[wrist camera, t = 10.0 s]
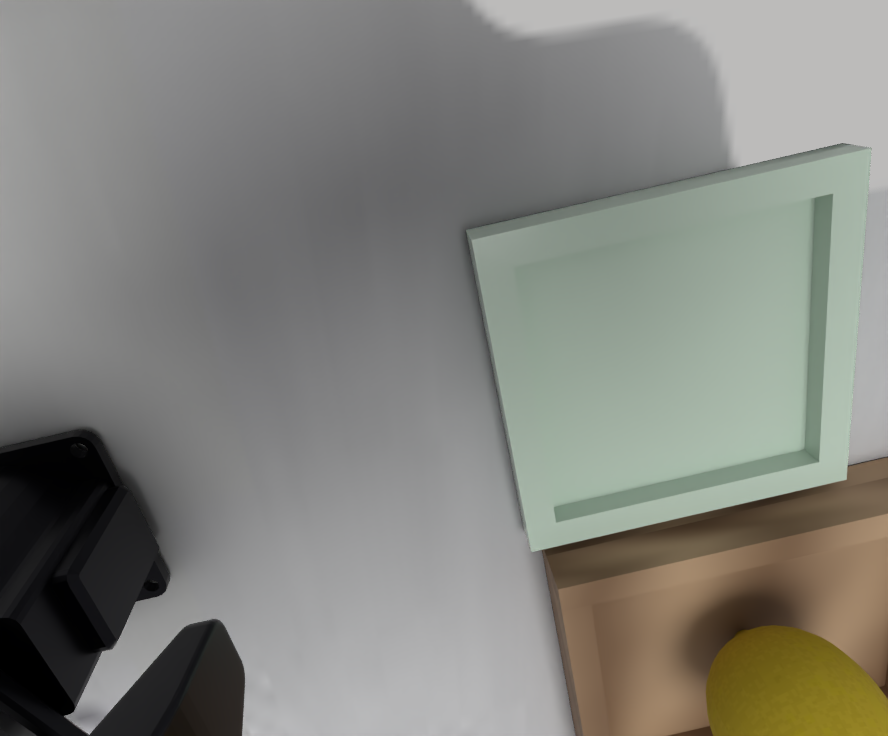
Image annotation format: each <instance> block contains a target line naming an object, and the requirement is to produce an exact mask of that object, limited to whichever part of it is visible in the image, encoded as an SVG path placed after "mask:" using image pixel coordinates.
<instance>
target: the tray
mask: <svg viewBox="0 0 888 736" xmlns="http://www.w3.org/2000/svg"><path fill="white" fill-rule="evenodd" d="M542 553H543V558H544V564H545V569H546V575H547V580H548V586H549V591H550V597H551V602H552V608H553V613H554V619H555V624H556V630H557V635H558V641H559V646H560V652H561V657H562V663H563V668H564V673H565V679H566V684H567V690H568V695H569V701H570V706H571V712H572V717H573V723H574V728H575V734H576V736H713V734H712V731H711V727H710V724H709V719H708V714H707V703H706V683H707V679H708V675H709V672H710V668H711V665H712V663H713V661H714V659H715V657H716V656H717V654H718V653H719V651H720V650H721V649H722V648H723V647H724V646H725V644H726V643H727V642H729V641H730V640H731V639H733V638H734V636H735V634H736V633H737V632H739V631H741V630H750V629H753V628H757V627H761V626H770V625H777V626H787V627H794V628H798V629H802V630H804V631H807V632H810V633H812V634H815V635H817V636H820V637H822V638H824V639H825V640H827V641H829V642H830V643H832V644H833V645H835V646H836V647H837V648H839V649H840V650H841V651H843V652H844V653H845V654H846V655H848V656H849V657H850V658H851V659H853V660H854V661H855V662H856V663H857V664H858V665H859V666H860V667H861V668H862V669H863V670H864V671H865V672H866V673H867V674H868V675H869V676H870V677H871V678H872V679H873V680H874V682H875V683H876V684H877V685H878V686H879V688H880V689H881V691H882V692H883V693H884V695H885V696H886V698H887V699H888V457H886V458H882V459H878V460H873V461H869V462H865V463H860V464H856V465H852V466H848V467H847V480H843V481H839V482H834V483H830V484H826V485H821V486H817V487H813V488H808V489H804V490H800V491H795V492H791V493H787V494H782V495H778V496H774V497H769V498H765V499H760V500H756V501H752V502H747V503H743V504H739V505H734V506H730V507H726V508H721V509H717V510H713V511H708V512H704V513H700V514H695V515H691V516H687V517H682V518H678V519H674V520H669V521H665V522H661V523H656V524H652V525H648V526H643V527H639V528H635V529H630V530H626V531H622V532H617V533H613V534H609V535H604V536H600V537H595V538H591V539H587V540H582V541H578V542H574V543H569V544H565V545H561V546H556V547H552V548H548V549H543V550H542Z"/></svg>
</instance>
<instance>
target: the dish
mask: <svg viewBox="0 0 888 736" xmlns="http://www.w3.org/2000/svg"><path fill="white" fill-rule="evenodd" d="M870 162H871V148H869V147H862V146H856V145H850V144H843V143H842V144H837V145H833V146H829V147H824V148H820V149H816V150H811V151H807V152H803V153H798V154H794V155H790V156H785V157H781V158H776V159H772V160H768V161H763V162H760V163H755V164H750V165H746V166H742V167H737V168H733V169H729V170H724V171H720V172H716V173H711V174H707V175H703V176H698V177H694V178H690V179H685V180H681V181H677V182H672V183H668V184H664V185H659V186H655V187H651V188H646V189H642V190H638V191H633V192H629V193H625V194H620V195H616V196H612V197H607V198H603V199H599V200H594V201H590V202H586V203H581V204H577V205H573V206H568V207H564V208H560V209H555V210H551V211H547V212H542V213H538V214H534V215H529V216H525V217H520V218H516V219H512V220H507V221H503V222H499V223H494V224H490V225H486V226H481V227H477V228H473V229H468V230H466V234H467V239H468V244H469V249H470V254H471V259H472V264H473V270H474V275H475V280H476V285H477V290H478V295H479V300H480V306H481V311H482V316H483V321H484V326H485V331H486V336H487V342H488V347H489V352H490V357H491V362H492V367H493V372H494V378H495V383H496V388H497V393H498V398H499V403H500V408H501V414H502V419H503V424H504V429H505V434H506V439H507V444H508V450H509V455H510V460H511V465H512V470H513V475H514V481H515V486H516V491H517V496H518V501H519V506H520V511H521V517H522V522H523V527H524V531H525V534H526V537H527V540H528V543H529V547H530V550H531V552H535V551H539V550H543V549H548V548H552V547H556V546H561V545H565V544H569V543H574V542H578V541H582V540H587V539H591V538H595V537H600V536H604V535H609V534H613V533H617V532H622V531H626V530H630V529H635V528H639V527H643V526H648V525H652V524H656V523H661V522H665V521H669V520H674V519H678V518H682V517H687V516H691V515H695V514H700V513H704V512H708V511H713V510H717V509H721V508H726V507H730V506H734V505H739V504H743V503H747V502H752V501H756V500H760V499H765V498H769V497H774V496H778V495H782V494H787V493H791V492H795V491H800V490H804V489H808V488H813V487H817V486H821V485H826V484H830V483H834V482H839V481H843V480H847V467H848V454H849V440H850V427H851V414H852V401H853V387H854V374H855V361H856V348H857V334H858V321H859V308H860V295H861V281H862V268H863V255H864V241H865V228H866V215H867V202H868V188H869V175H870Z"/></svg>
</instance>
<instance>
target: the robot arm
mask: <svg viewBox="0 0 888 736" xmlns="http://www.w3.org/2000/svg"><path fill="white" fill-rule="evenodd" d="M76 444H82V445H84V446H85V447H86V448H87V449H88V451H83V450H80V449H79V448H78V447H77V446H76ZM158 551H159V546H158V544H157V542H156V540H155V538H154V536H153V534H152V532H151V530H150V528H149V526H148V524H147V522H146V520H145V518H144V516H143V514H142V512H141V510H140V509H139V507H138V505H137V503H136V501H135V499H134V497H133V495H132V493H131V491H130V490H129V489H128V488H126V487H125V486H124V485H123V483H122V481H121V479H120V477H119V475H118V473H117V472H116V470H115V468H114V466H113V464H112V462H111V460H110V458H109V456H108V454H107V452H106V450H105V448H104V446H103V444H102V442H101V440H100V439H99V438H98V437H97V435H95V434H94V433H92V432H90V431H87V430H76V431H71V432H67V433H63V434H58V435H54V436H50V437H45V438H41V439H37V440H32V441H28V442H24V443H19V444H15V445H11V446H6V447H2V448H0V736H242V727H243V709H244V691H245V673H244V667H243V664H242V661H241V659H240V657H239V655H238V653H237V650H236V648H235V646H234V644H233V642H232V640H231V638H230V636H229V634H228V632H227V630H226V628H225V626H224V625H223V623H222V622H221V621H220V620H217V619H211V620H207V621H202V622H198V623H194V624H190V625H188V626H186V627H184V628H183V629H182V630H181V631H180V632H179V634H178V635H177V636H176V637H175V638H174V639H173V640H172V641H171V643H170V644H169V645H168V646H167V647H166V648H165V649H164V651H163V652H162V653H161V654H160V655H159V656H158V657H157V659H156V660H155V661H154V662H153V663H152V664H151V665H150V667H149V668H148V669H147V670H146V671H145V672H144V673H143V674H142V676H141V677H140V678H139V679H138V680H137V681H136V682H135V684H134V685H133V686H132V687H131V688H130V689H129V690H128V692H127V693H126V694H125V695H124V696H123V697H122V698H121V700H120V701H119V702H118V703H117V704H116V705H115V706H114V708H113V709H112V710H111V711H110V712H109V713H108V714H107V715H106V717H105V718H104V719H103V720H102V721H101V722H100V723H99V725H98V726H97V727H96V728H95V729H94V730H93V731H92V733H91V734H90V735H89V734H87V733H86V732H84V731H83V730H82V729H80V728H79V727H78V726H76V725H75V724H74V723H72V722H71V721H70V720H68V719H67V718H66V717H64V716H65V715H69V714H71V713H73V712H74V710H75V708H76V706H77V704H78V702H79V700H80V698H81V695H82V693H83V691H84V689H85V687H86V685H87V683H88V681H89V678H90V676H91V674H92V672H93V670H94V668H95V666H96V664H97V661H98V659H99V657H100V655H101V653H102V651H106V650H110V649H113V647H114V646H115V644H116V643H117V641H118V639H119V637H120V635H121V633H122V631H123V628H124V626H125V624H126V622H127V620H128V617H129V615H130V613H131V611H132V608H133V606H134V604H135V602H136V601H140V600H144V599H149V598H153V597H157V596H160V595H162V594H163V593H164V592H165V591H166V589H167V586H168V584H169V581H170V575H169V573H168V571H167V569H166V567H165V565H164V563H163V561H162V559H161V557H160V555H159V553H158ZM149 580H154V581H156V582H157V583H152V582H150V581H149Z"/></svg>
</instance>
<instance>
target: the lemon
mask: <svg viewBox="0 0 888 736" xmlns="http://www.w3.org/2000/svg"><path fill="white" fill-rule="evenodd" d="M706 703H707V714H708V719H709V724H710V727H711V731H712V734H713V736H888V699H887V698H886V696H885V695H884V693H883V692H882V691H881V689H880V688H879V686H878V685H877V684H876V683H875V682H874V680H873V679H872V678H871V677H870V676H869V675H868V674H867V673H866V672H865V671H864V670H863V669H862V668H861V667H860V666H859V665H858V664H857V663H856V662H855V661H854V660H853V659H851V658H850V657H849V656H848V655H846V654H845V653H844V652H843V651H841V650H840V649H839V648H837V647H836V646H835V645H833V644H832V643H830V642H829V641H827V640H825V639H824V638H822V637H820V636H817V635H815V634H812V633H810V632H807V631H804V630H802V629H798V628H794V627H787V626H777V625H770V626H761V627H757V628H753V629H750V630H741V631H739V632H737V633H736V634H735V636H734V638H733V639H731V640H730V641H729V642H727V643H726V644H725V646H724V647H723V648H722V649H721V650H720V651H719V653H718V654H717V656H716V657H715V659H714V661H713V663H712V665H711V668H710V672H709V675H708V679H707V683H706Z"/></svg>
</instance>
